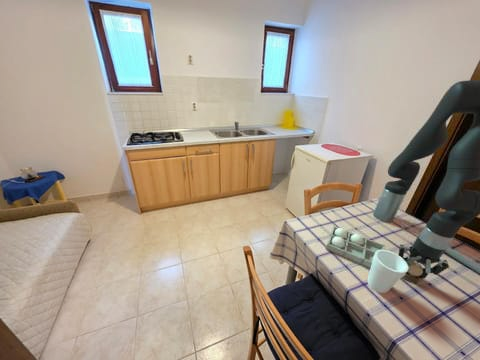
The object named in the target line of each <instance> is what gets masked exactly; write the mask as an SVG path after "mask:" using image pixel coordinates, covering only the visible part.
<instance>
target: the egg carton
mask: <svg viewBox="0 0 480 360" xmlns="http://www.w3.org/2000/svg"><path fill="white" fill-rule="evenodd" d="M338 228H339V227H337V226H333V227H332V229H331V233H330V235H329V238H328V241H327V243H326V247H325V250H326V249H327V251H330V253H333V254H336V255H338V256H340V257H343V258H346V259H348V260H349V261H352V262H355V263H357V264H359V265H361V266H363V267H366V268H369V269H371V265H372V261H373V256H374V254H375V253H376V251H377V250H381V249H382V250H386V248H385V245H386V244H383V243H380V242H377V241H374V240H372V239H369V238H367V237H364V236H362V237H363V240H364V241H363V244H362V245H357V244H354V243H352V242H351V236H352V235H354V234H355V233H353V232H350V231H348V230H345V231H346V233H347V236H346V237H345V238H344V239H343V240H344V246H343V247H342V248H338V247H335V246H333V245H332V239H333V238H334V237H336V236H335V230H336V229H338Z"/></svg>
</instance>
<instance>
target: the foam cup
mask: <svg viewBox="0 0 480 360" xmlns="http://www.w3.org/2000/svg"><path fill="white" fill-rule="evenodd" d="M408 268H409V267H408V265H407V263H406V262H405V261H404V259H403V258H402V257H400V256H399V254H397V253H396V252H393V251H391V250H388V249H385V250H382V249H381V250H377V251H376V253H375V254H374V256H373V261H372V265H371V268H369V272H368V277H367V284H368V286H369V287H370V288H371V289H372V290H374V291H375V292H376V293H380V294H385V293H387V292H389V290H390V289H391V288H392V287H394V285H396V283H398V281H400V279H401V278H402V277H403V276H404V275H405V274H406V272H407V270H408Z"/></svg>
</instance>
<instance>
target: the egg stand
mask: <svg viewBox="0 0 480 360" xmlns="http://www.w3.org/2000/svg"><path fill="white" fill-rule="evenodd" d="M401 278H402V279H404V280H406V281H409V282H411V283H413V284H415V285H419V284H420V282H421V278H420V276H413V275H411V274H410V273H408V272H406V274H405V275H404V276H403V277H401Z"/></svg>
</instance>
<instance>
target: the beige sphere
mask: <svg viewBox="0 0 480 360" xmlns="http://www.w3.org/2000/svg"><path fill="white" fill-rule="evenodd" d="M408 267H409V268H408V270H407V272H408V273H410V274H411V275H413V276H420V275H422V274H423V268H424V267H423V266H422V265H421V264H420V262H417V261H415V262H413V263H409V264H408Z"/></svg>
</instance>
